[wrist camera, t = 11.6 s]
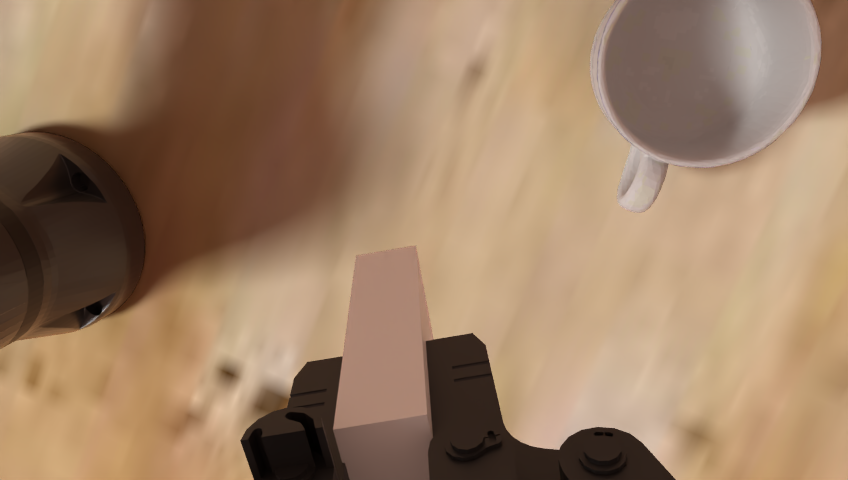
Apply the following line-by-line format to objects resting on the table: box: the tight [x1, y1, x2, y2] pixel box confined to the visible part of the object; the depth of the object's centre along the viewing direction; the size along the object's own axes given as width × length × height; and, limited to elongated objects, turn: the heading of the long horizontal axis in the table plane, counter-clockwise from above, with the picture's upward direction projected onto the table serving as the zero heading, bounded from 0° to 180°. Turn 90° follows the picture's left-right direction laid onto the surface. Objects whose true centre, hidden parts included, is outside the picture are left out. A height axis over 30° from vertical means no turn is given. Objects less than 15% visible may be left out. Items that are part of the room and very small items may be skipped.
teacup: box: [590, 0, 822, 213], centre depth 37 cm, size 14×11×8 cm
